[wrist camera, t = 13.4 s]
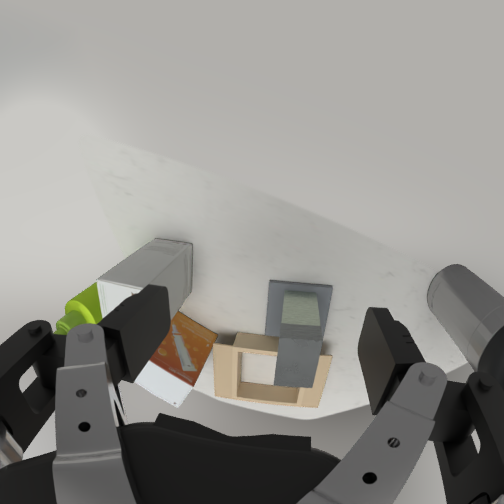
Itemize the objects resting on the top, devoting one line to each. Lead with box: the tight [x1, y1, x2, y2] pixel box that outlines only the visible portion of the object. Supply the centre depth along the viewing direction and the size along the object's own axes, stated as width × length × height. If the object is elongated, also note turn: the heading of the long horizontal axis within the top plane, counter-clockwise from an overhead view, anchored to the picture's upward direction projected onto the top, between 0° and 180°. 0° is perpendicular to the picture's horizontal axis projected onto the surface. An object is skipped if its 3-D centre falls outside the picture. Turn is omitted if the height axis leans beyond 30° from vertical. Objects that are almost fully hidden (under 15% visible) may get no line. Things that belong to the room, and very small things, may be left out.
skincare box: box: [97, 239, 192, 320], centre depth 35 cm, size 8×7×16 cm
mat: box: [265, 280, 333, 338], centre depth 41 cm, size 9×9×1 cm
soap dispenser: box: [53, 282, 103, 335], centre depth 35 cm, size 6×7×20 cm
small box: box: [134, 311, 218, 408], centre depth 40 cm, size 8×6×13 cm
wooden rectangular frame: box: [213, 332, 332, 408], centre depth 44 cm, size 18×12×4 cm, turn 87°
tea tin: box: [274, 290, 323, 388], centre depth 35 cm, size 5×7×12 cm, turn 178°
